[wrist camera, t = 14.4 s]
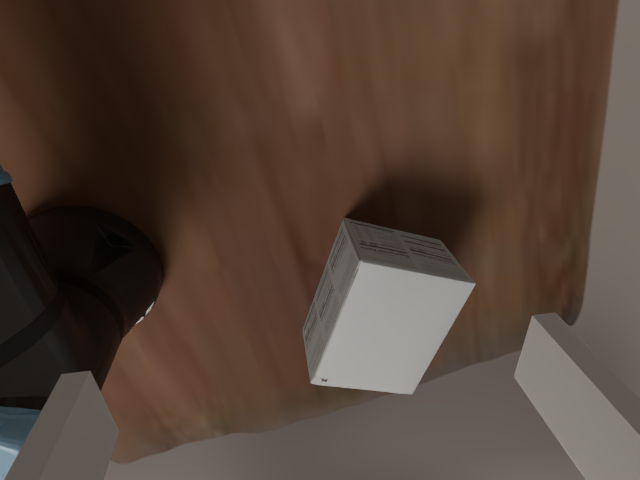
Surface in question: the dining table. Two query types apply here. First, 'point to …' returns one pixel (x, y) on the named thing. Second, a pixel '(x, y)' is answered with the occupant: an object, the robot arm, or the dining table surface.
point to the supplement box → (382, 308)
